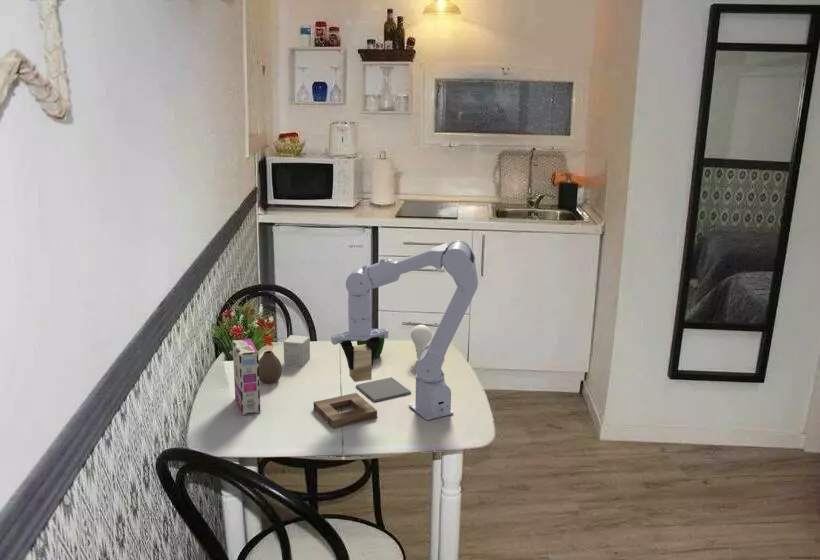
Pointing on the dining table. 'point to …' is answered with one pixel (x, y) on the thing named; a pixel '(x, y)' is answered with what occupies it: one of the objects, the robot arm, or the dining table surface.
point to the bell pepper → (378, 348)
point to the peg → (361, 364)
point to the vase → (269, 368)
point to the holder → (336, 419)
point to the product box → (296, 350)
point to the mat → (383, 389)
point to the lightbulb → (421, 338)
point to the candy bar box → (246, 376)
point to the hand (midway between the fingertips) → (360, 366)
